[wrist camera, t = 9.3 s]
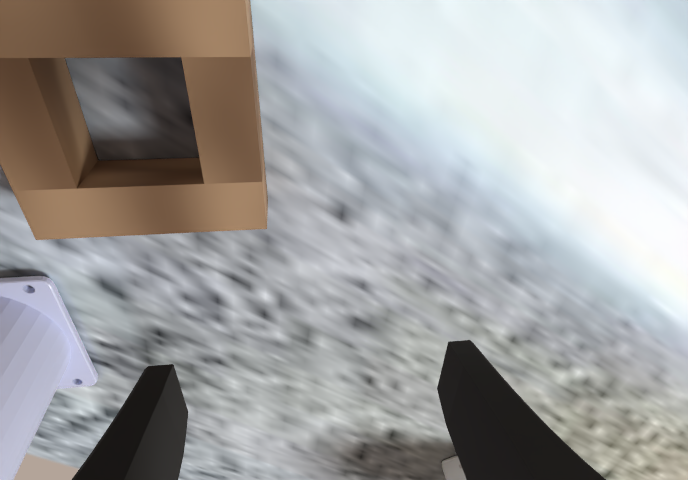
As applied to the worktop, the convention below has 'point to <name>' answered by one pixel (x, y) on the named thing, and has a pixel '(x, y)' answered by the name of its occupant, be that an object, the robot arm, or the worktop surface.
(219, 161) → the socket block
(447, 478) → the skincare box
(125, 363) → the worktop surface
